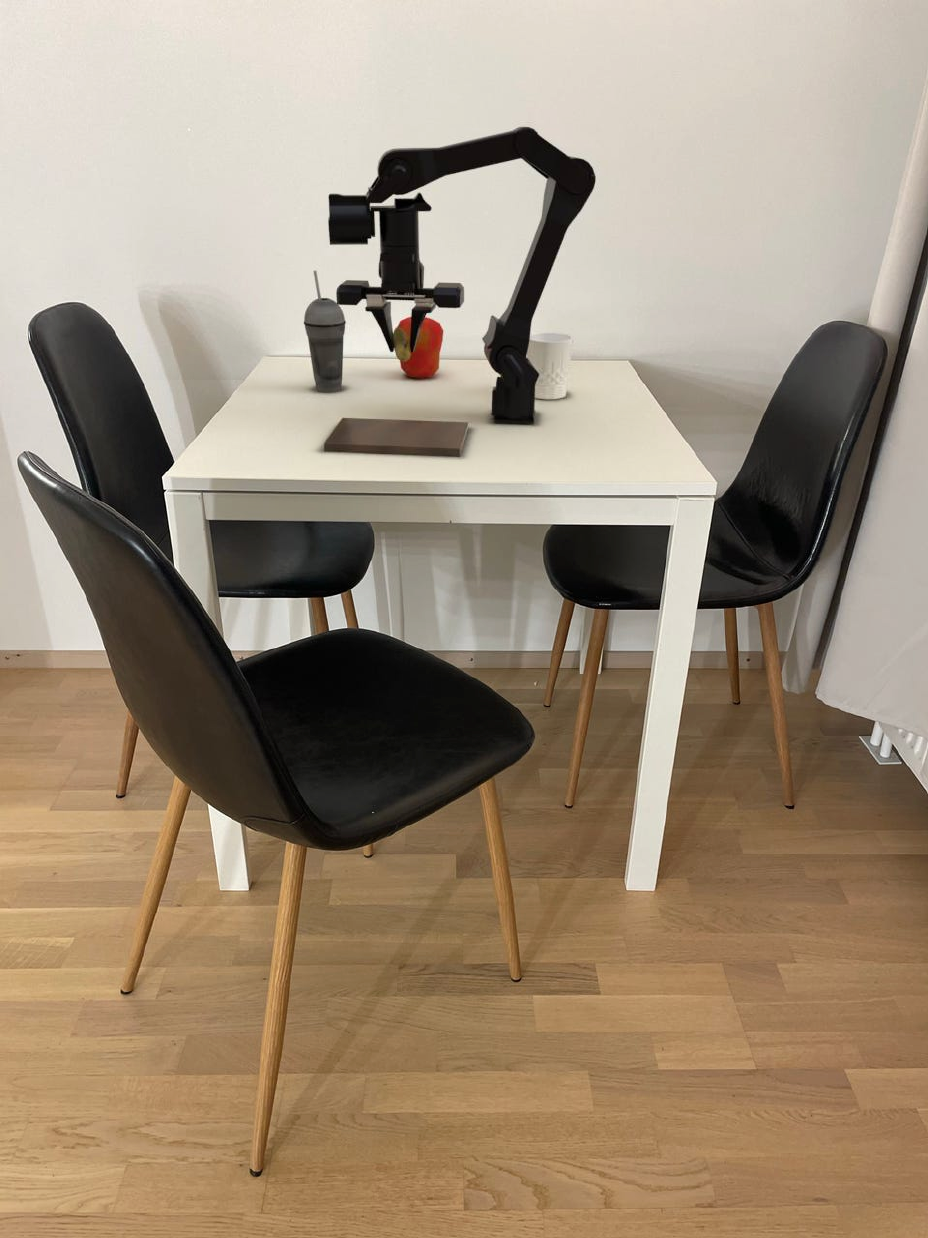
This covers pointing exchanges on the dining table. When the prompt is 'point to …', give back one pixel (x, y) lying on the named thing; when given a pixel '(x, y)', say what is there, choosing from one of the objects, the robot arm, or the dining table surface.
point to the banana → (401, 345)
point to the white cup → (550, 363)
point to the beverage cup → (325, 341)
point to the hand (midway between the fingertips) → (402, 351)
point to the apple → (423, 349)
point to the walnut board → (398, 437)
